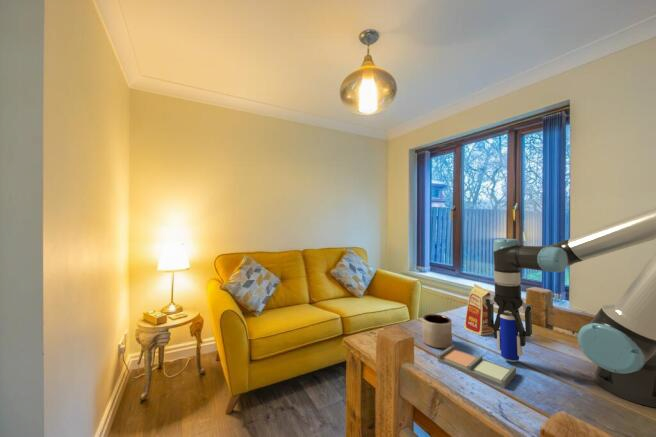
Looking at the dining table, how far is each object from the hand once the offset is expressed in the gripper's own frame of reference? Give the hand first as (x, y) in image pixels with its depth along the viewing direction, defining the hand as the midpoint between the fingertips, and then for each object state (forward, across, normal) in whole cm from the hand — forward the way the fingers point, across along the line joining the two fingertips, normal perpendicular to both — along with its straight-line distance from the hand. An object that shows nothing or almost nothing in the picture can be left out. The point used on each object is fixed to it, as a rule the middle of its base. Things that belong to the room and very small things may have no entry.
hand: (509, 351), depth 91 cm
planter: (+3, +24, +5) cm, 24 cm away
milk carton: (+3, +17, -20) cm, 26 cm away
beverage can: (+2, 0, 0) cm, 2 cm away
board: (+3, +7, +12) cm, 14 cm away
